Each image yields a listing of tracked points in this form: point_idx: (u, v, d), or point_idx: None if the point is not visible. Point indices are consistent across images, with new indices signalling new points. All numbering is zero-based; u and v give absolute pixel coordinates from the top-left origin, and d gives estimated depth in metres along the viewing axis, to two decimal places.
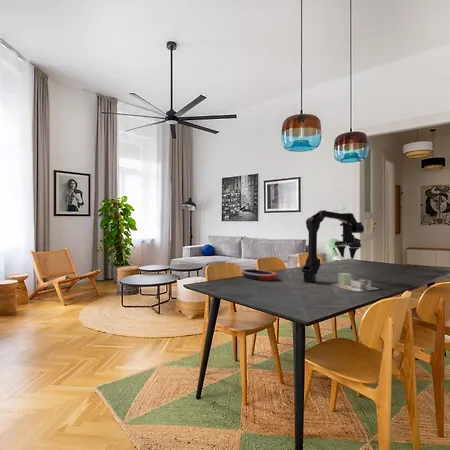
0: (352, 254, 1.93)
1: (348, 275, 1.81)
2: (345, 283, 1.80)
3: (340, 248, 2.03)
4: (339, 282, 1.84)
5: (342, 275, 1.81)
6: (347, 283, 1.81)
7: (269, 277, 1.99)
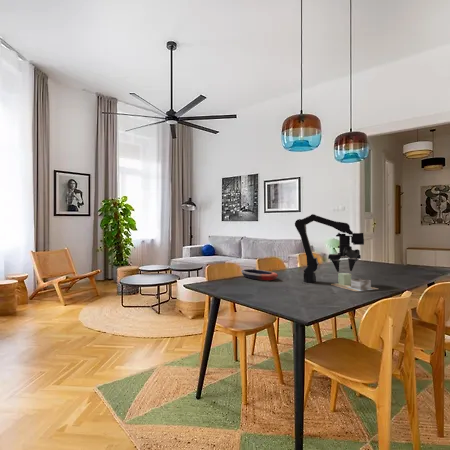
0: (335, 266, 1.82)
1: (348, 275, 1.81)
2: (345, 283, 1.80)
3: (349, 261, 1.86)
4: (339, 282, 1.84)
5: (342, 275, 1.81)
6: (347, 283, 1.81)
7: (269, 277, 1.99)
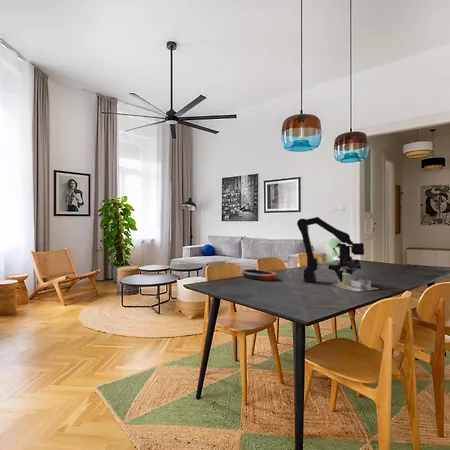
0: (338, 276, 1.82)
1: (348, 275, 1.81)
2: (345, 283, 1.80)
3: (347, 271, 1.86)
4: (339, 282, 1.84)
5: (342, 275, 1.81)
6: (347, 283, 1.81)
7: (269, 277, 1.99)
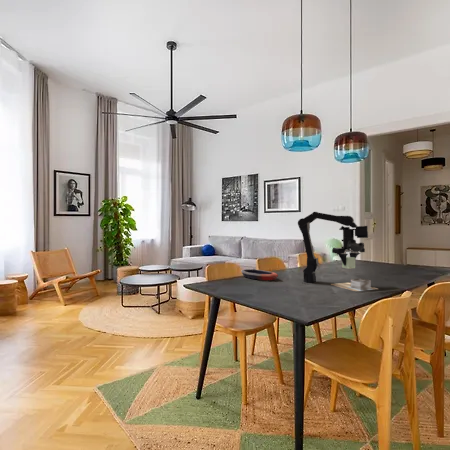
0: (342, 260, 1.80)
1: (352, 258, 1.78)
2: (349, 267, 1.77)
3: (351, 254, 1.83)
4: (343, 266, 1.81)
5: (346, 259, 1.78)
6: (351, 267, 1.78)
7: (269, 277, 1.99)
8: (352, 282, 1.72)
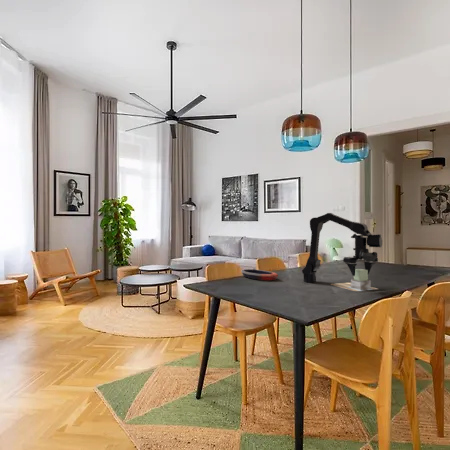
0: (351, 270, 1.70)
1: (364, 271, 1.69)
2: (361, 280, 1.68)
3: (365, 264, 1.74)
4: (354, 279, 1.72)
5: (358, 271, 1.69)
6: (363, 280, 1.69)
7: (269, 277, 1.99)
8: (352, 282, 1.72)
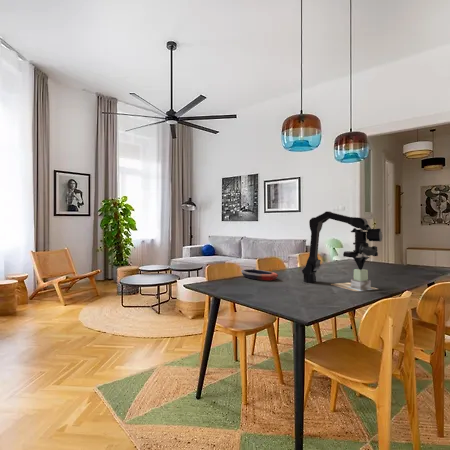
0: (358, 264, 1.71)
1: (364, 271, 1.69)
2: (361, 280, 1.68)
3: None
4: (354, 279, 1.72)
5: (358, 271, 1.69)
6: (363, 280, 1.69)
7: (269, 277, 1.99)
8: (352, 282, 1.72)
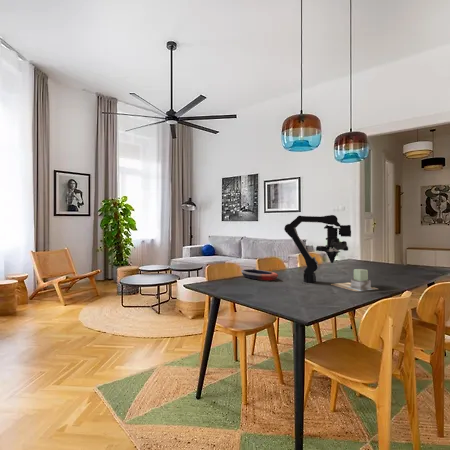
0: (329, 258, 1.86)
1: (364, 271, 1.69)
2: (361, 280, 1.68)
3: None
4: (354, 279, 1.72)
5: (358, 271, 1.69)
6: (363, 280, 1.69)
7: (269, 277, 1.99)
8: (352, 282, 1.72)
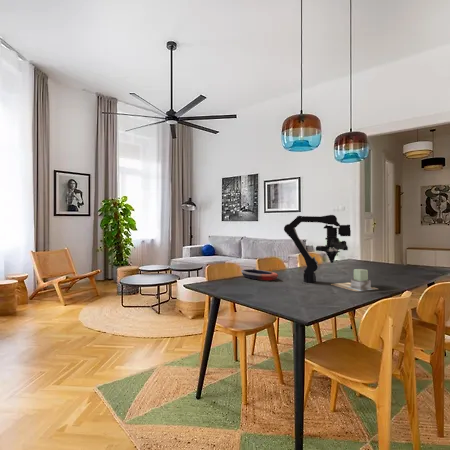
0: (329, 258, 1.86)
1: (364, 271, 1.69)
2: (361, 280, 1.68)
3: None
4: (354, 279, 1.72)
5: (358, 271, 1.69)
6: (363, 280, 1.69)
7: (269, 277, 1.99)
8: (352, 282, 1.72)
